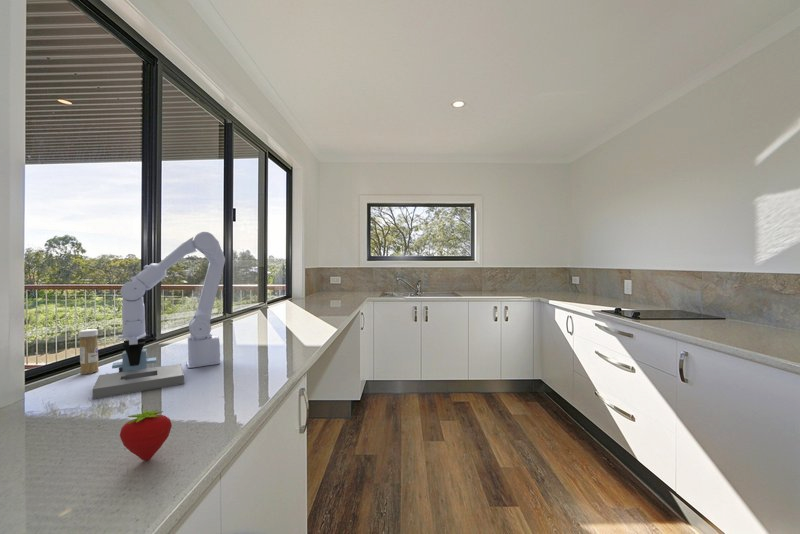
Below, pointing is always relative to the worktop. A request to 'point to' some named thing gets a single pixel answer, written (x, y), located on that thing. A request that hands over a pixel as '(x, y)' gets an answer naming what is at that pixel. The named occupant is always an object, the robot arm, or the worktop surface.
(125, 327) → the robot arm
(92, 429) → the worktop surface
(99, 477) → the worktop surface
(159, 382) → the mounting plate
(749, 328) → the worktop surface
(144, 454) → the strawberry
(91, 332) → the sprinkles bottle
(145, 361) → the block
